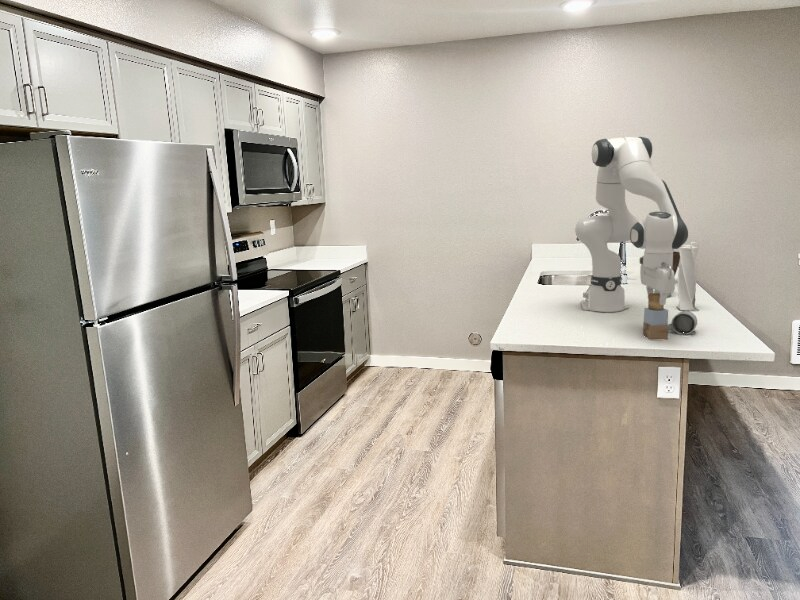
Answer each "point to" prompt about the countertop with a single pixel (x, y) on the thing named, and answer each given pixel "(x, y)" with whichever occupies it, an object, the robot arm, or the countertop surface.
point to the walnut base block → (655, 331)
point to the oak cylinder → (654, 302)
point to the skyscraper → (687, 277)
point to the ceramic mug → (683, 323)
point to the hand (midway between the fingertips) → (656, 301)
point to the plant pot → (675, 261)
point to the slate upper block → (656, 317)
